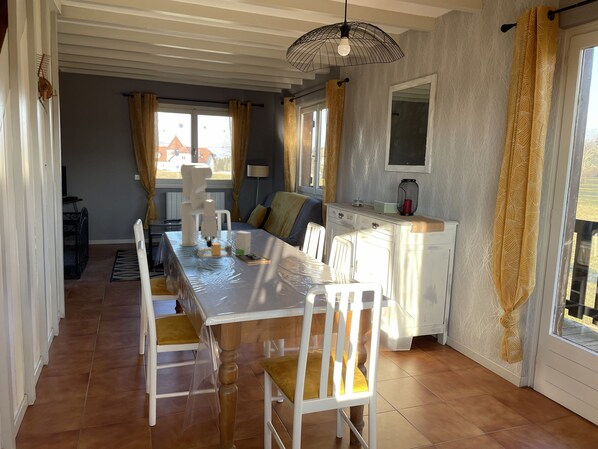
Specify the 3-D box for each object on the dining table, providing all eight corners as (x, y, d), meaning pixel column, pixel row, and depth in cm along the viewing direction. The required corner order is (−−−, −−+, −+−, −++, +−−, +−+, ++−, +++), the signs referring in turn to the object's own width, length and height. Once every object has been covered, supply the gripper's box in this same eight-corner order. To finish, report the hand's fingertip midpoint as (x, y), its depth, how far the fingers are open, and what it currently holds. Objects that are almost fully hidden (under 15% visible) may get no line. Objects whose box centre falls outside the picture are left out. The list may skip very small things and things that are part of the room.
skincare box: (234, 255, 296) (235, 231, 294) (240, 253, 302) (240, 230, 300) (245, 256, 293) (245, 233, 290) (250, 254, 298) (251, 231, 296)
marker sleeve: (211, 253, 294) (211, 243, 293) (218, 253, 296) (218, 243, 295) (213, 255, 289) (213, 244, 288) (220, 254, 291) (220, 244, 290)
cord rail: (197, 255, 292) (197, 245, 292) (228, 253, 302) (229, 243, 301) (200, 258, 283) (200, 248, 283) (233, 256, 293) (233, 246, 292)
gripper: (219, 218, 294) (219, 245, 297) (196, 218, 288) (196, 246, 290) (222, 219, 287) (222, 247, 290) (198, 220, 281) (198, 248, 284)
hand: (209, 247), depth 290 cm, fingers closed
